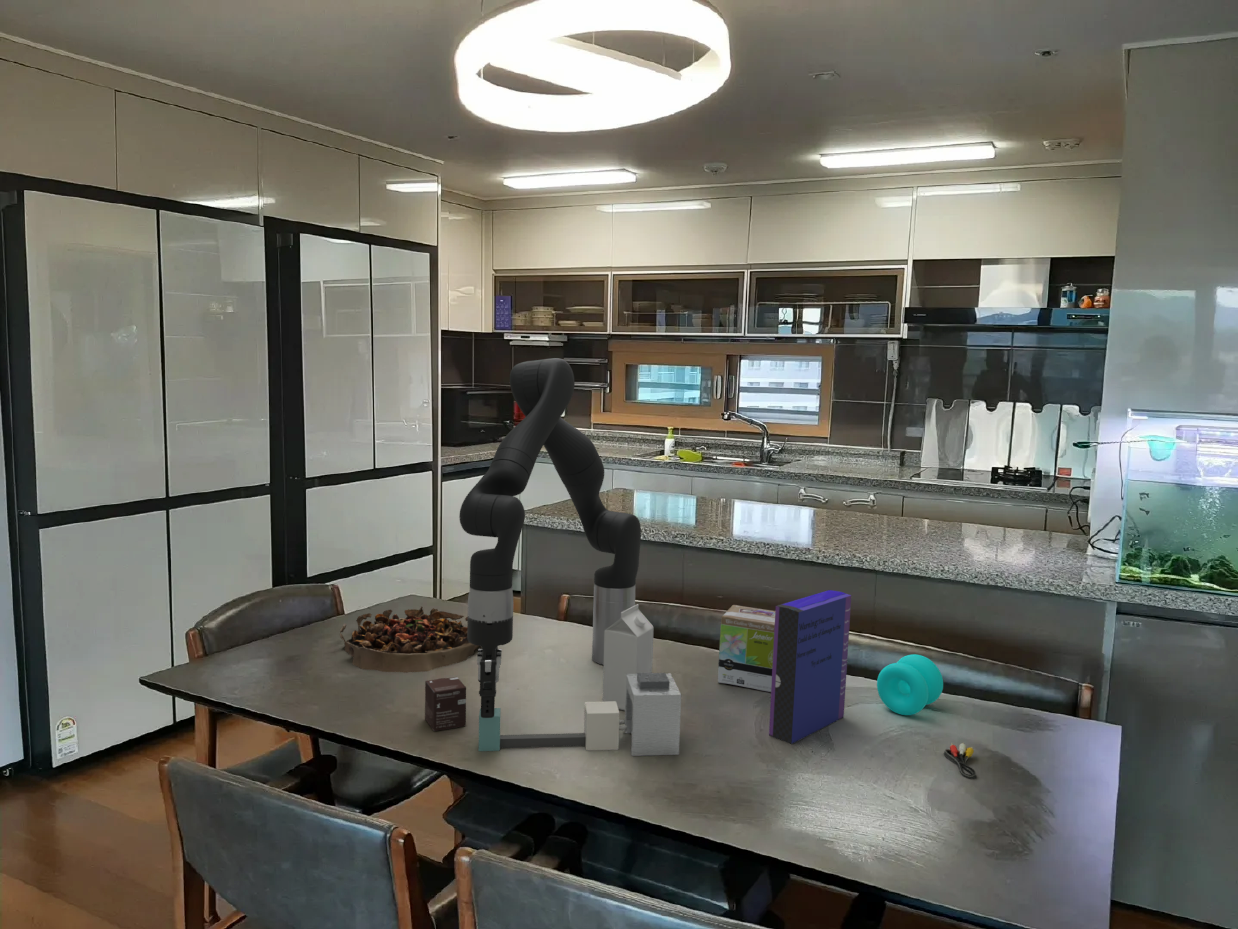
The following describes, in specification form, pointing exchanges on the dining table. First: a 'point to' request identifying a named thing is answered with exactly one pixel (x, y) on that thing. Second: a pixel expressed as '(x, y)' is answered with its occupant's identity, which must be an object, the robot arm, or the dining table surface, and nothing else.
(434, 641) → the potpourri bowl
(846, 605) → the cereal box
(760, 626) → the tea box
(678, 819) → the dining table surface
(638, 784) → the dining table surface
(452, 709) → the box
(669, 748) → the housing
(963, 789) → the dining table surface
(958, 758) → the composite cable
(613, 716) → the plug
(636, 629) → the milk carton
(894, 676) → the turquoise yo-yo
